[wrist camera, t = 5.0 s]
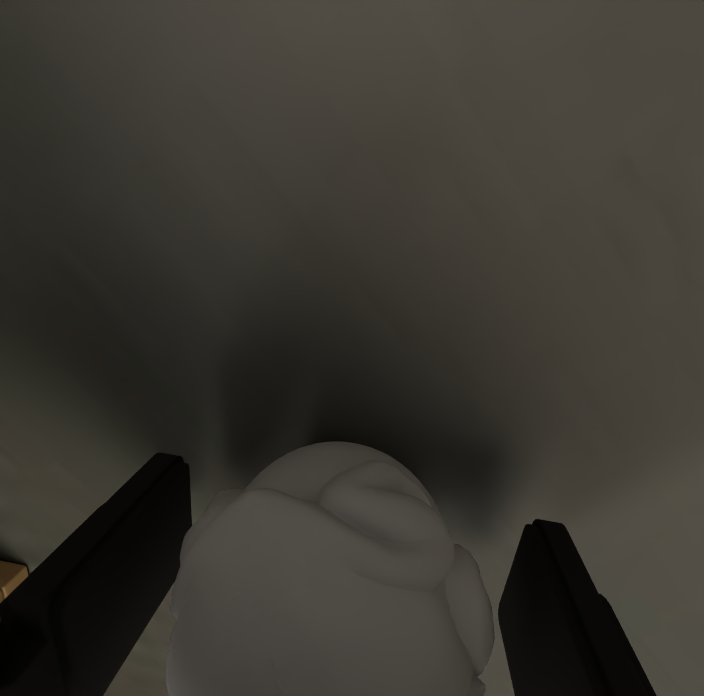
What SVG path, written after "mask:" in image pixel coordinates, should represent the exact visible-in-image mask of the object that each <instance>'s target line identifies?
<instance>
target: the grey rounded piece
mask: <svg viewBox="0 0 704 696" xmlns="http://www.w3.org/2000/svg"><path fill="white" fill-rule="evenodd" d="M180 565H181V566H180V569H179V571H178V574H177V577H176V581H175V585H174V588H173V591H172V594H171V612H172V615H173V617H174V618H176V619H177V622H176V624H175V626H174V629H173V632H172V635H171V638H170V645H169V650H168V654H167V658H166V666H167V675H166V684H167V688H168V694H169V696H483V695H484V692H485V684H484V683H483V682H482V681H481V680H480V679H479V678H477V676H479V675H480V674H481V673H482V672H483V670H484V668H485V666H486V664H487V662H488V660H489V657H490V655H491V652H492V648H493V643H494V626H493V614H492V607H491V603H490V600H489V597H488V595H487V592H486V590H485V587H484V584H483V582H482V579H481V577H480V571H479V566H478V564H477V562H476V561H475V559H474V558H473V556H472V555H471V554H470V553H469V551H467V550H466V549H464V548H463V547H461V546H460V545H458V544H453V541H452V538H451V536H450V534H449V532H448V530H447V528H446V526H445V524H444V522H443V520H442V517H441V515H440V512H439V510H438V508H437V506H436V504H435V502H434V501H433V499H432V497H431V496H430V494H429V493H428V491H427V490H426V489H425V487H424V486H423V485H422V483H421V482H420V481H419V480H418V479H417V478H416V477H415V476H414V475H413V473H412V472H411V471H410V470H408V469H407V468H406V467H405V466H403V465H402V464H401V463H399V462H398V461H397V460H395V459H394V458H392V457H390V456H389V455H387V454H385V453H383V452H381V451H379V450H376V449H374V448H371V447H368V446H364V445H361V444H356V443H350V442H339V441H334V442H323V443H316V444H312V445H308V446H304V447H301V448H298V449H296V450H294V451H292V452H289V453H287V454H286V455H284V456H282V457H280V458H279V459H277V460H275V461H274V462H272V463H271V464H270V465H269V466H267V467H266V468H265V469H263V470H262V471H261V472H260V473H259V474H258V475H257V476H256V477H255V478H254V479H253V480H252V481H251V482H250V484H249V485H248V486H247V487H246V488H245V489H243V490H242V489H234V488H231V489H226V490H223V491H222V492H220V493H218V494H216V495H215V497H214V498H213V500H212V501H211V503H210V504H209V506H208V508H207V510H206V512H205V513H204V515H203V516H202V517H201V518H200V519H199V520H197V521H196V522H195V523H194V524H193V525H192V527H191V528H190V529H189V530H188V532H187V533H186V534H185V537H184V540H183V543H182V547H181V552H180Z"/></svg>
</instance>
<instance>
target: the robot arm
mask: <svg viewBox="0 0 704 696" xmlns="http://www.w3.org/2000/svg"><path fill="white" fill-rule="evenodd" d="M191 527H192V517H191V496H190V474H189V465H188V464H187V463H184V460H183V458H182V457H181V456H177V455H172V454H166V453H157V454H155V455H154V456H153V457H152V458H151V459H150V460H149V461H148V462H147V463H146V464H145V465H144V466H143V467H142V468H141V469H140V470H139V471H137V472H136V473H135V474H134V475H133V476H132V477H131V478H130V479H129V480H128V481H127V482H126V483H125V484H124V485H123V486H122V487H121V488H120V489H119V490H118V491H117V492H116V493H115V494H114V495H113V496H112V497H111V498H110V499H109V500H108V501H107V502H106V503H104V504H103V505H102V506H100V507H99V508H98V509H97V510H96V511H95V512H94V513H93V514H92V515H91V516H90V517H89V518H88V519H87V520H86V521H85V522H83V523H82V524H81V525H80V526H79V527H78V528H77V529H76V530H75V531H74V532H73V533H72V534H71V535H70V536H69V537H68V538H67V539H66V540H65V541H64V542H63V543H62V544H61V545H60V546H59V547H58V548H57V549H56V550H55V551H54V552H53V553H51V554H50V555H49V556H48V557H47V558H46V559H45V560H44V561H43V562H42V563H41V564H40V565H39V566H38V567H37V568H36V569H35V570H34V571H33V572H32V573H31V574H30V575H29V576H28V577H27V578H26V579H25V580H24V581H23V582H22V583H21V584H19V585H18V586H17V587H16V588H15V589H14V590H13V591H12V592H11V593H10V594H9V595H8V596H7V597H6V598H5V599H4V600H3V601H2V602H1V603H0V696H103V695H104V693H105V691H106V690H107V688H108V687H109V685H110V683H111V682H112V680H113V679H114V677H115V675H116V674H117V672H118V671H119V669H120V667H121V666H122V664H123V663H124V661H125V659H126V658H127V656H128V655H129V653H130V651H131V650H132V648H133V647H134V645H135V643H136V642H137V640H138V639H139V637H140V636H141V634H142V632H143V631H144V629H145V628H146V626H147V624H148V623H149V621H150V620H151V618H152V616H153V615H154V613H155V612H156V610H157V608H158V607H159V605H160V604H161V602H162V600H163V599H164V597H165V596H166V594H167V592H168V591H169V589H170V588H171V586H172V584H173V583H174V581H175V580H176V577H177V574H178V571H179V569H180V566H181V565H180V552H181V547H182V543H183V540H184V537H185V534H186V533H187V532H188V530H189V529H190V528H191ZM498 618H499V625H500V629H501V634H502V638H503V643H504V647H505V652H506V657H507V661H508V666H509V670H510V675H511V680H512V684H513V689H514V693H515V696H656V694H655V692H654V690H653V688H652V686H651V684H650V682H649V680H648V678H647V676H646V674H645V672H644V670H643V668H642V666H641V664H640V662H639V660H638V658H637V656H636V654H635V652H634V650H633V649H632V647H631V645H630V643H629V641H628V639H627V637H626V635H625V633H624V631H623V629H622V627H621V625H620V623H619V621H618V619H617V617H616V615H615V613H614V611H613V609H612V607H611V606H610V604H609V602H608V601H607V599H606V598H605V597H604V596H602V595H601V594H598V592H597V590H596V588H595V586H594V584H593V582H592V580H591V577H590V575H589V573H588V571H587V569H586V567H585V565H584V563H583V561H582V559H581V557H580V555H579V553H578V551H577V549H576V547H575V545H574V543H573V541H572V539H571V537H570V535H569V533H568V531H567V529H566V527H565V526H564V525H563V524H562V523H557V522H551V521H545V520H540V519H535V520H534V521H533V524H532V525H530V524H526V525H525V527H524V530H523V533H522V536H521V539H520V542H519V545H518V548H517V551H516V554H515V557H514V561H513V564H512V567H511V570H510V573H509V576H508V579H507V582H506V585H505V588H504V591H503V594H502V597H501V600H500V603H499V609H498Z"/></svg>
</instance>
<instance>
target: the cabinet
mask: <svg viewBox="0 0 704 696" xmlns="http://www.w3.org/2000/svg"><path fill="white" fill-rule="evenodd" d="M28 576H29V575H28V571H27V567H26V566H24V565H20V564H15V563H10V562H5V561H0V603H1V602H2V601H3V600H4V599H5V598H6V597H7V596H8V595H9V594H10V593H11V592H12V591H13V590H14V589H15V588H16V587H17V586H18V585H19V584H21V583H22V582H23V581H24V580H25V579H26V578H27V577H28Z"/></svg>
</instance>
